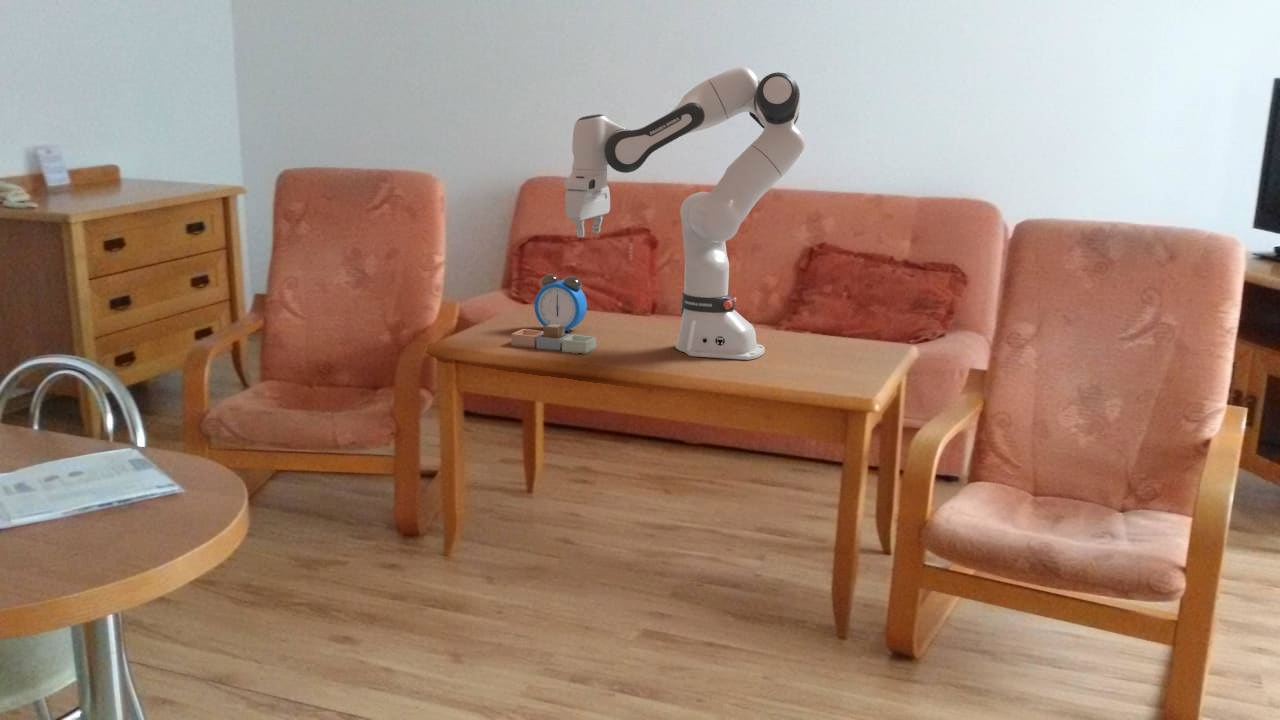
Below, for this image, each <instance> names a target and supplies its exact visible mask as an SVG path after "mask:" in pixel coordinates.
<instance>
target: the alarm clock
mask: <svg viewBox="0 0 1280 720" xmlns="http://www.w3.org/2000/svg"><path fill="white" fill-rule="evenodd" d="M559 279H560V280H559ZM540 286H541V289H540V290H539V291H538V293H537V294H536V296H535V298H534V305H533V306H534V307H533V308H534V309H533V310H534V313H535V316H536V319H537V320H538V322H539V323H540V324H541V325H542V326H543V327H544V326H546V325H548V324H559V325H565V332H567V334H570V330H571V329H572V328H574V327H576V326H577V325H579V324H580V323H582V322H583V320H584V319H585V318H586V315H587V311H588V303H587V298H586V295H585V293H584V292H583V290H582V286H583V283H582V281H581V279H579V278H578V277H577V276H574V275H569V276H567V277H565V278H564V279H563V277H562V276H559V277H558V276H557V275H556V274H553V273H550V274H545V276H543V277H542V278H541V280H540Z"/></svg>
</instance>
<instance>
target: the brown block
mask: <svg viewBox="0 0 1280 720" xmlns="http://www.w3.org/2000/svg"><path fill="white" fill-rule="evenodd" d="M542 329H543V330H542V331H543V337H547V338H556V339H560V338H562V337H564V336H565V334H566V331H565V325H559V324H548V325H546V326H543V327H542Z"/></svg>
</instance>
